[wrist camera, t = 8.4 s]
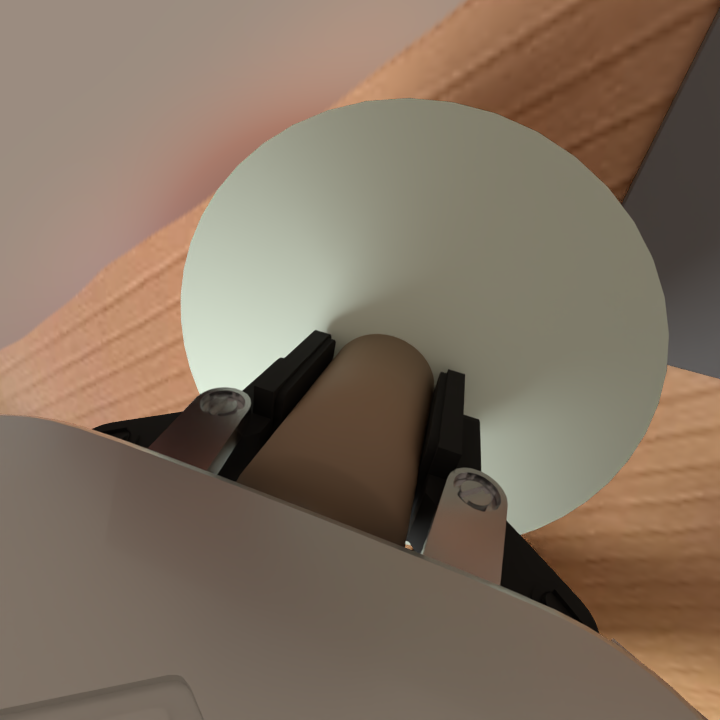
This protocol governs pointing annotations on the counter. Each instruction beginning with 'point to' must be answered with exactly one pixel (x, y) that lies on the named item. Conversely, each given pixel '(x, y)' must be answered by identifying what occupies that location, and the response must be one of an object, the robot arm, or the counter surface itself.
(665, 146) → the mat
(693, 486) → the counter surface
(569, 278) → the lid
